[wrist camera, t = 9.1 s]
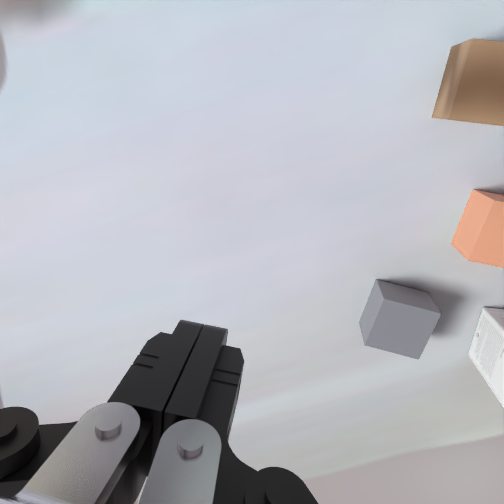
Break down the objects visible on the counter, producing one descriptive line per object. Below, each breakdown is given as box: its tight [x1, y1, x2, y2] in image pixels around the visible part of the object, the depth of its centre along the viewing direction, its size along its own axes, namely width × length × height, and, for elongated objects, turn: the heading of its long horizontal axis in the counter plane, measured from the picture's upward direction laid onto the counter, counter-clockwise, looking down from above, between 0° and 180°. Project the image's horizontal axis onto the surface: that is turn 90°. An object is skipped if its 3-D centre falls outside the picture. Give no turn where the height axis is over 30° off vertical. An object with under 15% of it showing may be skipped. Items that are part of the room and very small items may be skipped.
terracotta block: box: [451, 189, 504, 268], centre depth 30 cm, size 5×5×4 cm
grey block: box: [359, 279, 441, 359], centre depth 34 cm, size 5×5×4 cm
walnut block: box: [432, 39, 504, 126], centre depth 27 cm, size 5×5×4 cm
